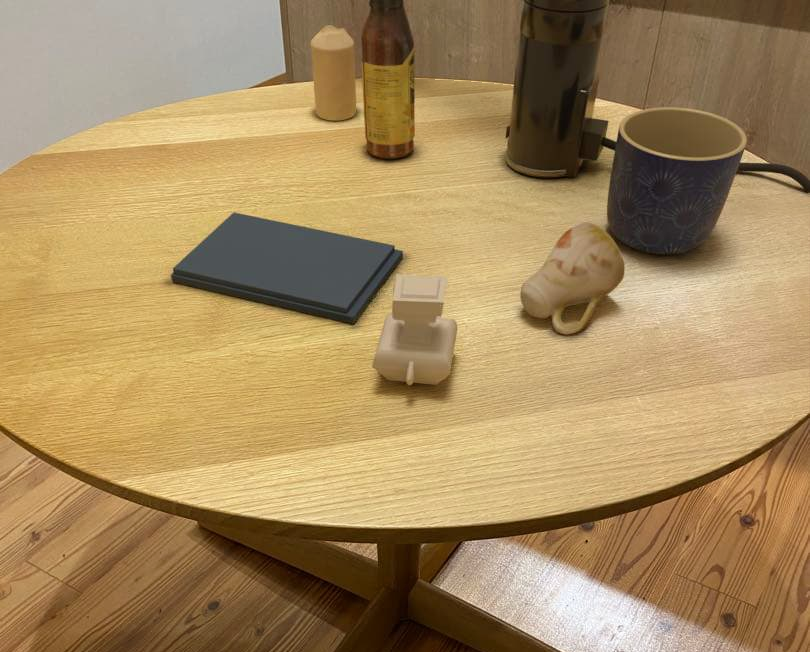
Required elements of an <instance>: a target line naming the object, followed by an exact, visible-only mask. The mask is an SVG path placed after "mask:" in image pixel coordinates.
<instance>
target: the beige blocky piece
mask: <svg viewBox="0 0 810 652" xmlns="http://www.w3.org/2000/svg"><path fill="white" fill-rule="evenodd" d="M447 282H448V276H441V275H439V276H438V275H424V274H423V275H421V274H420V275H418V274H404V273H403V274H402V273H401V274H400V273H396V275H395V279H394V284H393V288H392V304H391V305H392V308H391V312H388V313H386V315H385V318H384V322H383V326H382V329H381V332H380V335H379V336H380V337H379V340H378V342H377V347H376V350H375V353H374V357H373V361H372V368H373V369H374V370H375V371H376V372H377V373H379V374H380V375H381V376H383V377H385V379H386V380H387V381H393V382H405V383H406V384H407V385H408V386H411V385H413V383H414V384H424V385H435V386H437V385H439V383H440V382H442V381H443V380H445V379H446V378H447V377H448V376H450V374H451V370H452V369H451V367H452V362H453V358H454V357H453V356H454V352H455V347H456V340H457V335H458V323H457V322H456V320H455V319H454V318H449V317H448V318H447V317H442V315H443V311H444V304H445V299H446V298H445V297H446V289H447Z"/></svg>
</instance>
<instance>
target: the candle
mask: <svg viewBox="0 0 810 652" xmlns="http://www.w3.org/2000/svg"><path fill="white" fill-rule="evenodd" d="M310 51H311V65H312V77H313V78H312V81H313V93H314V104H315V105H314V106H315V114H316V116H317V117H318V118H320V119H323V120H325V121H326V120H327V121H344V120H345V121H346V120H349V119H351V118H353V117H354V116H356V114H357V89H356V87H357V86H356V62H355V61H356V60H355V59H356V58H355V40H354V38H352V37H351V36H350V34H349V33H348V31H346V30H345V27H341V28H337V27H335V26H334V25H331V24H328V25H325V26H323V27H322V29H320V30H319V32H318V33H317V34H315V35H314V37H313V38H312V39H311V41H310Z"/></svg>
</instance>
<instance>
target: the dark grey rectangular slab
mask: <svg viewBox="0 0 810 652" xmlns="http://www.w3.org/2000/svg"><path fill="white" fill-rule="evenodd" d="M403 257H404V251H403V250H399V249H396V245H395V244H391V243H384V242H380V241H375V240H371V239H366V238H359V237H356V236H352V235H345V234H341V233H336V232H331V231H328V230H327V231H326V230H323V229H322V230H321V229H315V228H312V227H307V226H302V225H298V224H292V223H288V222H284V221H278V220H273V219H268V218H264V217H259V216H254V215H248V214H245V213H239V212H232V213H231V214H230V215H229V216H228V217H227V218H226V219H225V220H224V221H222V222H221V223H220V224H219V225H218V226H217V227H216V228H215V229H213V231H211V233H209V234H208V235H207V236H206V237H205V238H204V239H203V240H202V241H201V242H200V243H198V245H196V246H195V247H194V248H193V249H192V250H191V251H190V252H189V253H188V254H186V255H185V256H184V257H183V258H182V259H181V260H180V261H179V262H178V263H177V264H176V265H175V266H174V267H173V268H172V273H171V274H170V277H171V281H172V283H176V284H180V285H184V286H189V287H193V288H197V289H203V290H206V291H211V292H215V293H218V294H219V293H220V294H223V295H228V296H232V297H236V298H241V299H244V300H248V301H253V302H258V303H262V304H266V305H271V306H274V307H278V308H283V309H286V310H287V309H288V310H292V311H296V312H301V313H305V314H309V315H313V316H318V317H322V318H326V319H330V320H333V321H334V320H335V321H338V322H342V323H347V324H352V325H354V324H355V323H356V322H357V320H358V319H359V317H360V316H361V315H362V313H363V312H364V311H365V310H366V308H367V307H368V305H369V304H370V302H371V301H372V300H373V299H374V297H375V296H376V295H377V293H378V292H379V290H380V289H381V288H382V287H383V285H384V284H385V282H386V281H387V280H388V278H389V277H390V276H391V274H392V273H393V272H394V270H395V269H396V268H397V266H398V265H399V264H400V262H401V261H402V259H403Z"/></svg>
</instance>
